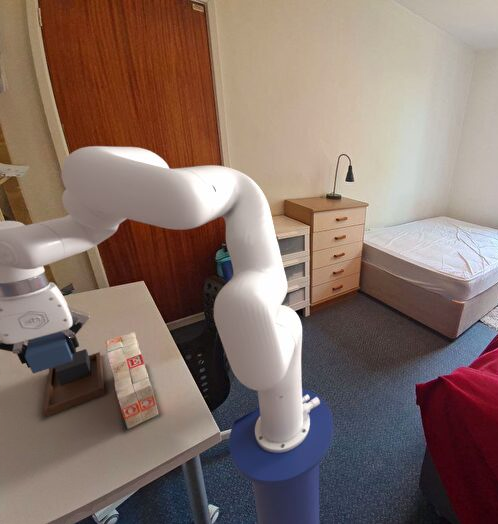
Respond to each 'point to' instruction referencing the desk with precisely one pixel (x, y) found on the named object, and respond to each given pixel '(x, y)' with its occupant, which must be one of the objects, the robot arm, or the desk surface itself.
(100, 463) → the desk surface
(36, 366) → the blue block
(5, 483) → the desk surface
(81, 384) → the pad tray
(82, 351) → the seated pad
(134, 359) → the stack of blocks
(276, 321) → the robot arm
